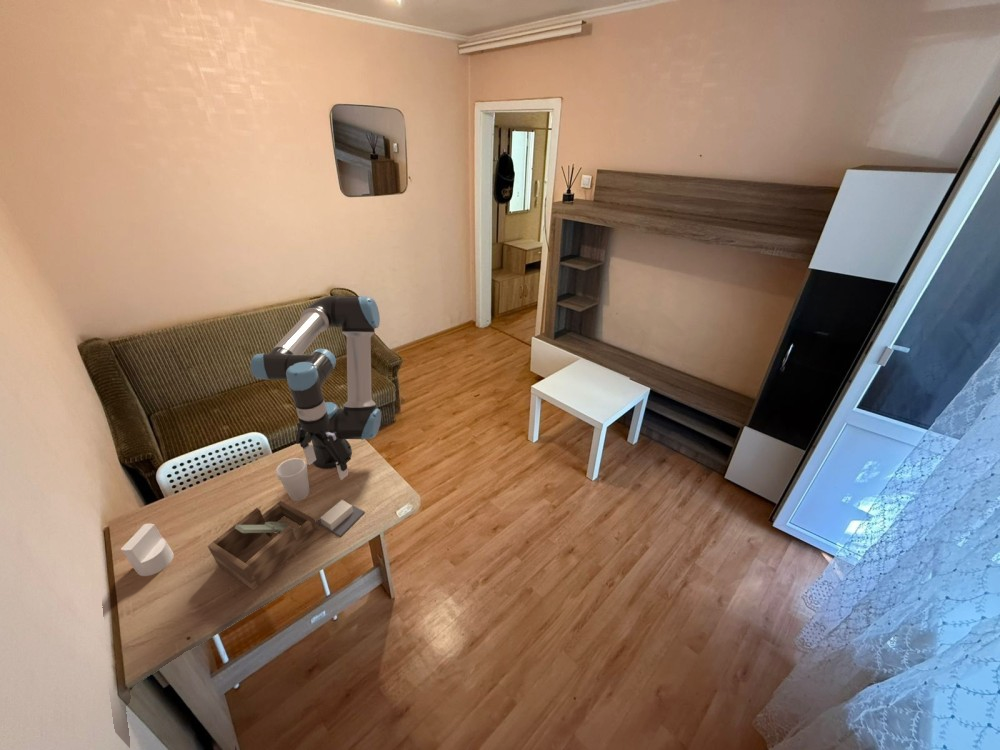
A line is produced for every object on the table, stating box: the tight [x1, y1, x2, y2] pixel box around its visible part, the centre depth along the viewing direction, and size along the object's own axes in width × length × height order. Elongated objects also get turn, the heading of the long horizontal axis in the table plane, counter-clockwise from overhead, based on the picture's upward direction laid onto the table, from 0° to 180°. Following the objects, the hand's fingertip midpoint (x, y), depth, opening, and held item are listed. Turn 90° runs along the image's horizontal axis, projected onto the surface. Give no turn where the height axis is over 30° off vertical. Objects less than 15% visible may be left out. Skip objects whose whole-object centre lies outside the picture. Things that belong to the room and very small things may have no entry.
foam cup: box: [275, 457, 310, 502], centre depth 143 cm, size 10×9×13 cm
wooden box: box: [207, 500, 319, 591], centre depth 125 cm, size 23×16×10 cm
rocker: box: [235, 521, 297, 535], centre depth 125 cm, size 19×9×2 cm
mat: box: [315, 499, 366, 537], centre depth 138 cm, size 11×11×1 cm
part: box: [319, 499, 354, 530], centre depth 136 cm, size 9×5×3 cm, turn 149°
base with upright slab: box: [120, 523, 175, 577], centre depth 120 cm, size 9×9×12 cm
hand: (327, 469), depth 126 cm, fingers open, 13 cm apart
